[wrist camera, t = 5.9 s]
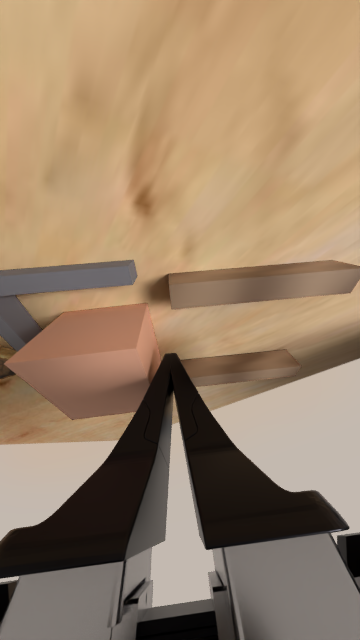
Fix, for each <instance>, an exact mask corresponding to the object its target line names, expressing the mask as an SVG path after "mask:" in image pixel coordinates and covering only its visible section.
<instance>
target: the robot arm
mask: <svg viewBox="0 0 360 640" xmlns="http://www.w3.org/2000/svg"><path fill="white" fill-rule="evenodd" d="M173 393H174V395H175V401H176V406H177V412H178V417H179V423H180V429H181V434H182V440H183V445H184V451H185V457H186V462H187V467H188V473H189V479H190V484H191V490H192V496H193V501H194V507H195V513H196V518H197V524H198V529H199V536H200V538H201V540H202V542H203V544H204V546H205V549H206V550H210V549H212V550H213V557H214V565H215V571H214V572H208V577H209V586H210V594H211V599H207V600H200V601H194V602H187V603H180V604H173V605H167V606H160V607H154V608H152V594H153V580H150V574H151V552H152V547H153V546H155V545H157V544H159V543H161V542H163V541H165V533H166V515H167V498H168V480H169V463H170V446H171V428H172V411H173ZM348 529H349V526H348V524H347V523H346V521H345V520H344V519H343V518H342V517H341V515H340V514H339V513H338V512H337V511H336V510H335V509H334V508H333V507H332V506H331V504H330V503H329V502H327V500H326V499H325V498H324V497H323V496H322V495H321V494H320V493H319V492H317V491H314V490H311V491H301V492H289V491H287V490H284V489H283V488H281V487H279V486H278V485H277V484H276V483H274V482H273V481H272V480H271V479H270V478H269V477H268V476H267V475H266V474H265V473H263V472H262V471H261V470H260V469H259V468H258V467H257V466H256V465H255V464H254V463H253V462H251V460H249V459H248V458H247V457H246V456H245V455H244V454H243V453H242V452H241V451H240V450H239V449H238V448H237V447H236V446H235V445H234V443H232V441H231V440H230V439H229V437H228V436H227V434H226V433H225V432H224V430H223V429H222V428H221V426H220V425H219V424H218V422H217V421H216V419H215V418H214V417H213V415H212V414H211V412H210V411H209V409H208V408H207V406H206V405H205V403H204V401H203V400H202V398H201V396H200V394H198V391H197V389H196V387H195V386H194V384H193V382H192V380H191V378H190V377H189V375H188V373H187V371H186V370H185V368H184V366H183V364H182V362H181V361H180V359H179V357H178V355H177V354H176V353H168V354H165V355H164V357H163V359H162V361H161V363H160V366H159V368H158V370H157V372H156V374H155V376H154V378H153V380H152V382H151V384H150V386H149V388H148V390H147V392H146V394H145V396H144V398H143V400H142V402H141V404H140V406H139V407H138V409H137V411H136V413H135V415H134V417H133V418H132V420H131V422H130V423H129V425H128V427H127V428H126V430H125V431H124V433H123V435H122V436H121V438H120V439H119V441H118V443H117V444H116V446H115V447H114V449H113V450H112V452H111V454H110V455H109V456H108V458H107V459H106V460H105V462H104V463H103V464H102V465H101V466H100V467H99V468H98V470H97V471H96V472H94V473H93V475H92V476H91V477H90V478H89V479H88V480H87V481H86V482H85V483H84V484H83V485H82V486H81V487H80V488H79V489H78V490H77V491H76V492H75V493H74V494H73V495H72V496H71V497H70V498H69V499H68V500H67V501H66V502H65V503H64V504H63V505H62V506H61V507H60V508H59V509H58V510H57V511H56V512H55V513H54V514H53V515H52V516H50V517H49V518H47V519H46V520H45V521H43V522H41V523H40V524H38V525H35V526H30V527H23V528H16V529H13V530H11V531H9V532H8V534H7V535H6V536H5V537H4V538H3V539H2V540H1V541H0V578H8V577H14V576H19V579H18V580H15V581H8V582H1V583H0V640H360V533H353V534H345V535H338V536H337V544H336V543H335V541H334V539H333V537H332V535H331V533H333V532H338V531H344V530H348Z"/></svg>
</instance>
